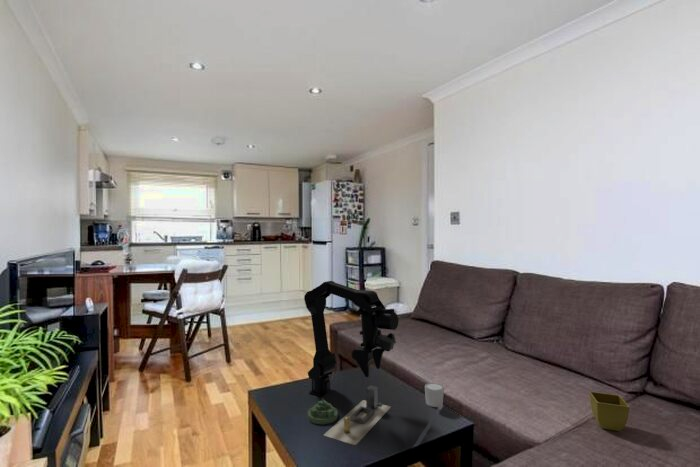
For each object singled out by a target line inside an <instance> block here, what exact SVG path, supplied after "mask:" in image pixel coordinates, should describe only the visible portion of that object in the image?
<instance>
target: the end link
mask: <svg viewBox="0 0 700 467" xmlns="http://www.w3.org/2000/svg"><path fill="white" fill-rule="evenodd" d="M365 391H366V394H365V395H366V396H365V397H366V399H365V400H366V407H362V406H361V407H360V408H358V409H357V410H356V411H355V412H354V413H353V414H352V415H351V416H350V421H353V422H357V423H360V424H365V423H366V422H367V421H368V420H369V419H370V418H371V417H372V416H373V415H374V414H375V409H376V408H377V407H378V402H379V387H378V386H375V385H369V386H368V387H366V390H365ZM361 412H365V413H368V414H367V415H366V416H365V417H364V418H359V417H357V416H358V415H359V414H360V413H361Z"/></svg>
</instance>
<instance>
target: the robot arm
mask: <svg viewBox="0 0 700 467" xmlns="http://www.w3.org/2000/svg"><path fill="white" fill-rule="evenodd" d="M331 295H334V296H336V297H339V298H342V299H344V300H348V301H351V302H352V303H353V305H354V306H356V307H357V308H358V310H357V311H356V312H355V313H354V314H355V315H357V316H360V323H361V331H359V335H360V336H362V337H361V338H362V342H360V346H359V347H356V348H354V349H353V350H352V351H351V359H353V360H354V361H356V363H357V365H358V366H359V368H360V369H361V371H362V373H363V375H364V377H365V378H369V377H370V365H371V364H370V362H371V361H372V360H373V363H374V365H375V368H376V370H380V369H381V366H382V365H381V364H382V359H383V355H384V352H390V351H391V350H393V349H394V347H395V344H396V343H397V342H396V341H397V340H396V338H395V334H394V333H392V332H389V333H388V334H382V329H383V330H390V331H391V330H394V331H395V330H397V328H398V326H399V317H398V314H397V313H396V312H395V309H394V308H386V307H385V305H384V303H383V302H382V301H381V299H380V298H379V296H378V293H377V292H376V291H374V290H368V289H356V288H353V287H351V286H350V287H349V286H347V285H343V284H341V283H338V282H335V281H333V280H327V281H324V282H322V283H321V284H320V285H318V286H316V287H315V288H313V289H311V290H307V292H306V293H305V294H304V296H303V299H304V303H305V308H306V309H307V310H308V312H309V313H310V316H311V317H310V318H311V324H312V331H313V337H314V338H313V339H314V345H315V346H314V348H315V353H314V356H313V360H312V362H313V364H312V365H313V366H312V367H311V368H310V370H308V372H307V376H308V379H310V380H311V390H309V392H308V393H309V394H311V395H316V396H320V397H324V396H326V395H327V394H328V393H330V392H331V391H332V388H331V379H330V375H332V374H333V372H334V370H335V369H336V364H337V361H336V353H335V352H333V353H332V351H331V350H330V349H329V348H330V347H329V341H328V337H327V329H326V328H327V327H326V321H325V320H326V319H325V312H324V311H325V310H326V306H327V298H329V297H330V296H331Z"/></svg>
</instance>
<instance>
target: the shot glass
mask: <svg viewBox="0 0 700 467" xmlns="http://www.w3.org/2000/svg"><path fill="white" fill-rule="evenodd" d="M444 390H445V386H444V385H442V384H440V383H436V382H428V383H426V384H425V385H424V394H425V404H426V405H428V406H429V407H432V408H433V407H434V408H436V410H437V411H438V410H441V409H443V402H444V393H445V392H444Z"/></svg>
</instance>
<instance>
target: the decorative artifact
mask: <svg viewBox="0 0 700 467" xmlns="http://www.w3.org/2000/svg"><path fill="white" fill-rule="evenodd" d="M338 416H339V412H338V409H337V408H336V407H334V406H333V405H332V404H331V402H328V401H326V399H324V398H321V400H320V401H319V400H318V401H317V403H316V404H314V405H313V406H312V407H310V408H309V409H308V411H307V420H308V421H309V422H311V423H313V424H315V425H327V424H331V423H334V422H335V421H336V420H337V419H338Z"/></svg>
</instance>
